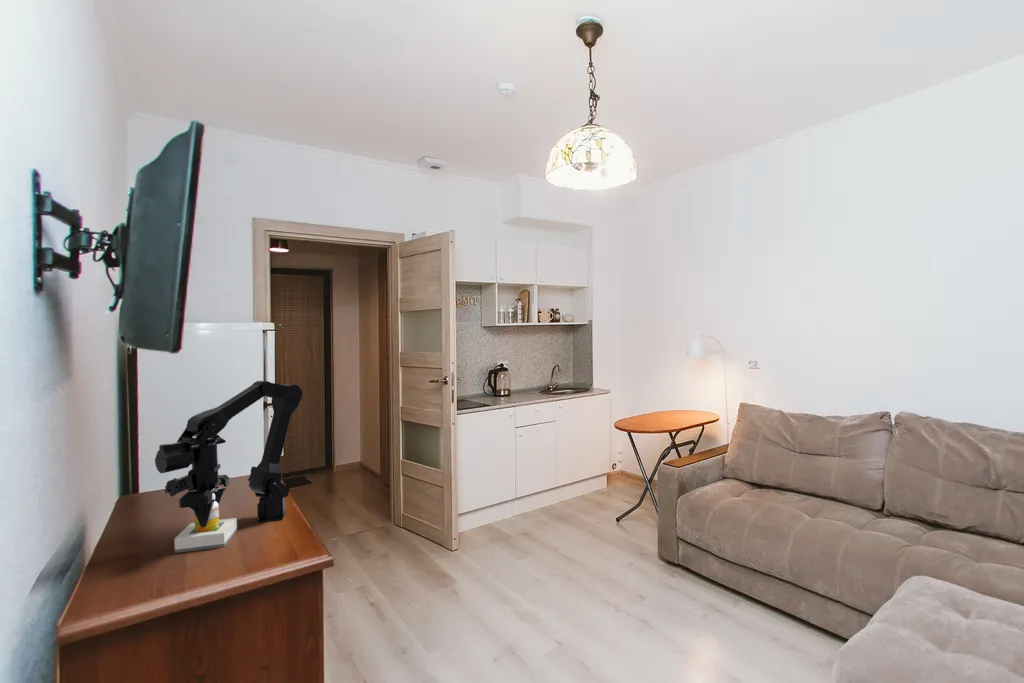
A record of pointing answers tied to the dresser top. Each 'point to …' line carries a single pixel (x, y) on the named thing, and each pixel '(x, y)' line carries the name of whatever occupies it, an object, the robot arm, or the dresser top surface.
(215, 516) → the supplement bottle
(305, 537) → the dresser top surface
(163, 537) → the dresser top surface
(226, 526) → the socket block
